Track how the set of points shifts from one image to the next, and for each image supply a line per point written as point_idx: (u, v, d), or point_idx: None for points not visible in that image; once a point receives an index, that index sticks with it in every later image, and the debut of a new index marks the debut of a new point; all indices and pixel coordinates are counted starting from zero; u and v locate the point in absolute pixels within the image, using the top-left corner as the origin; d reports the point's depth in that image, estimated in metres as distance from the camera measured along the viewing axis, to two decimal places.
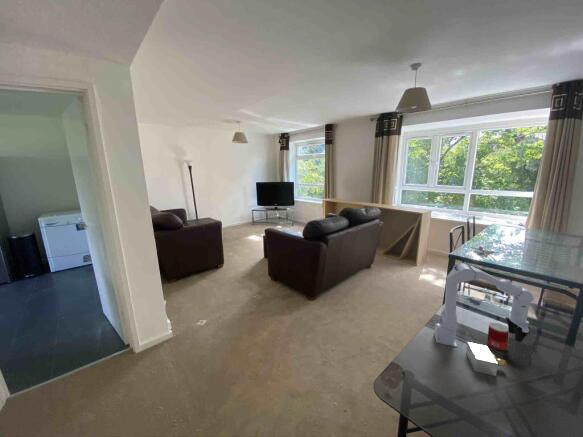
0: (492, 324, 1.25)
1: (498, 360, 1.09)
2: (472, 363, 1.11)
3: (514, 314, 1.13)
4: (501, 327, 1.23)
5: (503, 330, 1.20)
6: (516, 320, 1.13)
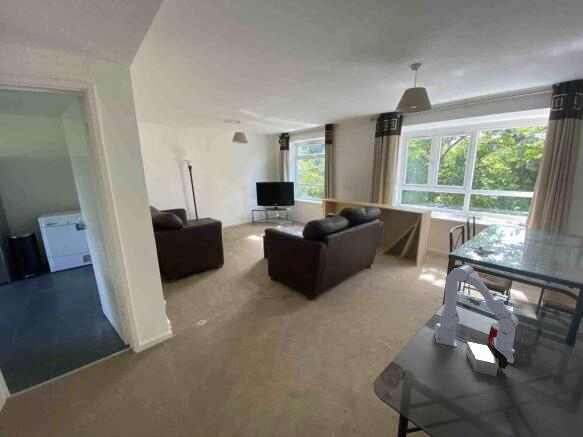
0: (495, 324, 1.25)
1: None
2: (472, 363, 1.11)
3: (499, 342, 1.07)
4: None
5: None
6: (501, 348, 1.06)
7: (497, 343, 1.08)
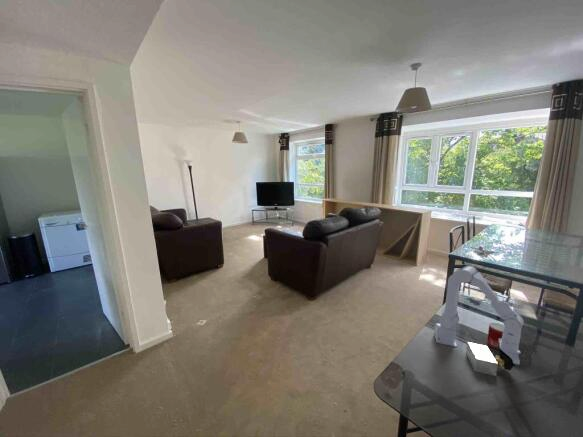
0: (493, 324, 1.25)
1: (503, 361, 1.08)
2: (472, 363, 1.11)
3: (505, 343, 1.06)
4: (501, 327, 1.23)
5: None
6: (507, 349, 1.05)
7: (502, 344, 1.07)
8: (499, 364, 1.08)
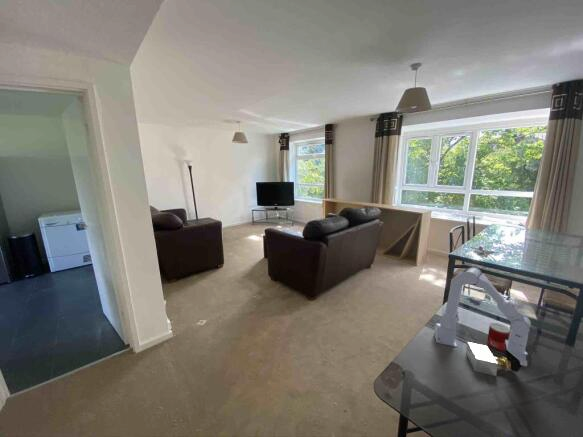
0: (493, 324, 1.25)
1: (510, 363, 1.07)
2: (472, 363, 1.11)
3: (512, 344, 1.05)
4: (502, 328, 1.22)
5: (503, 331, 1.20)
6: (514, 351, 1.04)
7: (509, 346, 1.06)
8: (506, 366, 1.07)
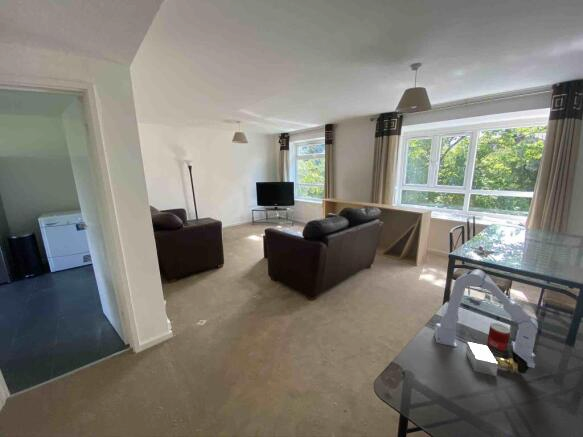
0: (494, 324, 1.25)
1: (517, 364, 1.06)
2: (472, 363, 1.11)
3: (519, 346, 1.04)
4: (503, 328, 1.22)
5: (503, 331, 1.20)
6: (521, 352, 1.04)
7: (516, 347, 1.05)
8: (512, 367, 1.06)
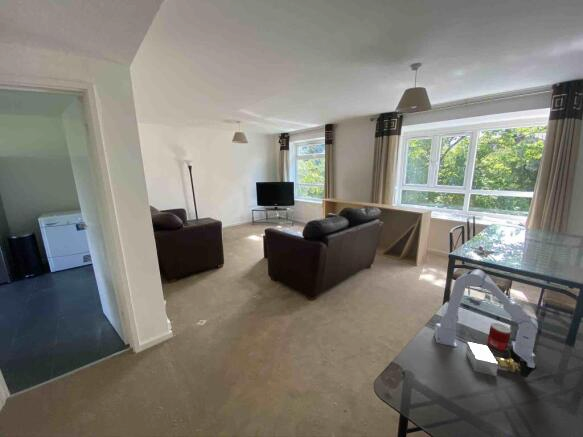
0: (495, 324, 1.25)
1: (517, 364, 1.06)
2: (472, 363, 1.11)
3: (519, 346, 1.04)
4: (503, 328, 1.22)
5: (504, 331, 1.20)
6: (521, 352, 1.04)
7: (516, 347, 1.05)
8: (512, 367, 1.06)
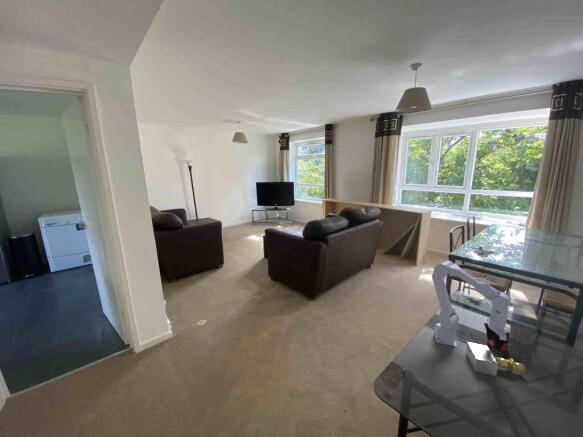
0: None
1: (517, 364, 1.06)
2: (472, 363, 1.11)
3: (492, 321, 1.09)
4: None
5: None
6: (494, 327, 1.08)
7: (490, 322, 1.10)
8: (512, 367, 1.06)
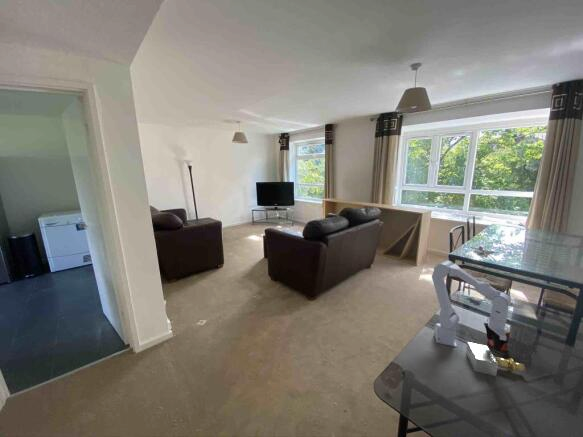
0: None
1: (517, 364, 1.06)
2: (472, 363, 1.11)
3: (492, 321, 1.09)
4: None
5: None
6: (494, 327, 1.08)
7: (490, 322, 1.10)
8: (512, 367, 1.06)
